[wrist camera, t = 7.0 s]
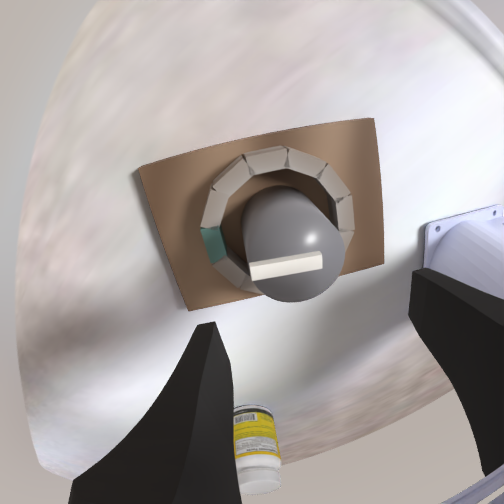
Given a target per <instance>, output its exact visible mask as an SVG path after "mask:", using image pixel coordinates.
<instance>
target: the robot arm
mask: <svg viewBox="0 0 504 504" xmlns="http://www.w3.org/2000/svg"><path fill="white" fill-rule="evenodd" d="M503 214H504V207H503V206H502V205H495V206H492V207H488V208H484V209H480V210H477V211H473V212H469V213H465V214H461V215H458V216H454V217H450V218H446V219H442V220H438V221H435V222H431V223H429V224H428V225H427V226H426V231H425V252H424V266H423V268H422V269H419V270H416V271H412V284H411V294H410V304H409V313H408V316H409V317H410V319H411V321H412V323H413V325H414V327H415V329H416V331H417V333H418V334H419V336H420V338H421V339H422V341H423V342H424V343H425V345H426V346H427V348H428V349H429V351H430V352H431V353H432V355H433V356H434V358H435V359H436V360H437V362H438V363H439V365H440V366H441V368H442V369H443V371H444V372H445V373H446V375H447V376H448V378H449V380H450V381H451V383H452V385H453V387H454V389H455V391H456V392H457V395H458V397H459V399H460V401H461V403H462V406H463V408H464V410H465V413H466V415H467V418H468V420H469V423H470V425H471V429H472V431H473V435H474V438H475V441H476V444H477V448H478V452H479V457H480V460H481V466H482V471H483V473H484V475H485V478H483V479H482V480H480V481H479V482H477V483H475V484H474V485H472V486H470V487H469V488H467V489H466V490H464V491H462V492H460V493H459V494H457V495H455V496H453V497H452V498H450V499H448V500H446V501H444V502H442V503H440V504H477V503H478V502H480V501H481V500H483V499H484V498H486V497H487V496H489V495H490V494H492V493H493V492H495V491H496V490H497V489H499V488H500V487H502V486H503V485H504V217H503ZM437 226H438V227H437ZM436 227H437V229H436ZM435 229H436V230H435ZM68 504H242V501H241V496H240V489H239V483H238V476H237V469H236V461H235V454H234V401H233V380H232V372H231V364H230V360H229V358H228V355H227V353H226V350H225V347H224V345H223V342H222V339H221V336H220V334H219V331H218V328H217V325H216V323H215V322H210V323H205V324H199V325H197V327H196V328H195V330H194V332H193V334H192V337H191V339H190V341H189V343H188V345H187V347H186V349H185V351H184V353H183V355H182V357H181V359H180V360H179V362H178V364H177V366H176V368H175V370H174V371H173V373H172V375H171V377H170V378H169V380H168V381H167V383H166V385H165V386H164V388H163V390H162V391H161V393H160V394H159V396H158V397H157V399H156V400H155V402H154V403H153V404H152V406H151V407H150V408H149V410H148V411H147V412H146V414H145V415H144V416H143V418H142V419H141V420H140V421H139V422H138V423H137V425H136V426H135V427H134V428H133V429H132V430H131V431H130V432H129V433H128V435H127V436H126V437H125V438H124V439H123V440H122V441H121V442H120V443H119V444H118V445H117V446H116V447H115V448H114V449H112V450H111V451H110V452H109V453H108V454H107V455H106V456H105V457H103V458H102V459H101V460H100V461H99V462H97V463H96V464H95V465H93V466H92V467H91V468H89V469H88V470H87V471H85V472H84V473H83V474H81V475H80V476H78V477H77V478H75V479H74V480H73V483H72V487H71V492H70V497H69V502H68ZM488 504H504V493H502V494H501V495H499V496H498V497H497V498H495V499H494V500H492V501H491V502H490V503H488Z"/></svg>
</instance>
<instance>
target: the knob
mask: <svg viewBox="0 0 504 504" xmlns="http://www.w3.org/2000/svg"><path fill="white" fill-rule="evenodd" d="M241 229H242V235H243V240H244V246H245V251H246V256H247V262H248V267H249V272H250V276H251V278H252V281H253V282H254V284H255V286H256V287H257V288H258V289H259V290H260V291H261V292H262V293H263V294H265V295H266V296H268V297H270V298H272V299H274V300H277V301H282V302H301V301H305V300H308V299H311V298H314V297H316V296H318V295H319V294H321V293H323V292H324V291H325V290H326V289H328V288H329V287H330V286H331V285H332V284H333V283H334V281H335V280H336V279H337V277H338V276H339V274H340V272H341V270H342V267H343V264H344V260H345V246H344V242H343V239H342V237H341V235H340V233H339V231H338V230H337V229H336V228H335V226H334V225H333V224H332V223H331V222H330V221H329V220H328V219H327V218H326V217H325V215H324V214H323V213H322V212H321V211H320V210H319V209H318V208H317V207H316V206H315V205H314V204H313V203H312V201H311V200H310V199H309V198H308V197H307V196H306V195H305V194H304V193H302V192H301V191H300V190H298V189H296V188H293V187H290V186H285V185H275V186H270V187H267V188H264V189H262V190H260V191H259V192H257V193H256V194H255V195H254V196H252V197H251V199H250V200H249V201H248V202H247V204H246V205H245V207H244V210H243V213H242V217H241Z"/></svg>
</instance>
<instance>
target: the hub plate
mask: <svg viewBox="0 0 504 504" xmlns="http://www.w3.org/2000/svg"><path fill="white" fill-rule="evenodd" d="M138 170H139V173H140V177H141V180H142V183H143V186H144V190H145V193H146V196H147V199H148V202H149V205H150V208H151V211H152V214H153V217H154V220H155V223H156V226H157V229H158V232H159V235H160V238H161V240H162V243H163V246H164V249H165V252H166V254H167V257H168V260H169V262H170V265H171V268H172V271H173V273H174V276H175V278H176V281H177V284H178V286H179V289H180V291H181V294H182V296H183V299H184V301H185V304H186V306H187V309H188V311H193V310H198V309H203V308H207V307H212V306H217V305H221V304H226V303H230V302H235V301H239V300H244V299H248V298H252V297H257V296H261V295H265V294H263V293H262V292H261V291H260V290H259V289H258V288H257V287H256V286H255V284H254V282H253V281H252V278H251V276H250V272H249V267H248V262H247V256H246V251H245V246H244V240H243V235H242V229H241V217H242V213H243V210H244V207H245V205H246V204H247V202H248V201H249V200H250V199H251V197H252V196H254V195H255V194H256V193H257V192H259V191H260V190H262V189H264V188H267V187H270V186H275V185H285V186H290V187H293V188H296V189H298V190H300V191H301V192H302V193H304V194H305V195H306V196H307V197H308V198H309V199H310V200H311V201H312V203H313V204H314V205H315V206H316V207H317V208H318V209H319V210H320V211H321V212H322V213H323V214H324V215H325V217H326V218H327V219H328V220H329V221H330V222H331V223H332V224H333V225H334V226H335V228H336V229H337V230H338V231H339V233H340V235H341V237H342V239H343V242H344V246H345V260H344V264H343V267H342V270H341V272H340V274H339V276H341V275H345V274H349V273H353V272H356V271H360V270H364V269H367V268H371V267H374V266H378V265H382V264H384V223H383V202H382V187H381V174H380V164H379V154H378V145H377V137H376V129H375V122H374V118H362V119H354V120H346V121H338V122H331V123H324V124H317V125H311V126H305V127H299V128H293V129H288V130H282V131H277V132H272V133H267V134H262V135H257V136H252V137H248V138H243V139H239V140H234V141H230V142H226V143H222V144H218V145H214V146H210V147H206V148H202V149H198V150H194V151H191V152H187V153H183V154H180V155H176V156H173V157H169V158H166V159H163V160H159V161H156V162H153V163H150V164H146V165H143V166H141V167H139V168H138Z"/></svg>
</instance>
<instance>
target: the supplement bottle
mask: <svg viewBox="0 0 504 504" xmlns="http://www.w3.org/2000/svg"><path fill="white" fill-rule="evenodd" d="M234 454H235V461H236V469H237V476H238V483H239V489H240V493H241V494H247V495H260V494H266V493H270V492H273V491H276V490H277V489H279V488H280V487H281V479H280V474H279V471H278V470H279V469H280V467H281V457H280V452H279V447H278V442H277V436H276V431H275V425H274V420H273V415H272V413H271V411H270V410H268V409H267V408H265V407H262V406H256V405H247V406H241V407H238V408H236V409H234Z"/></svg>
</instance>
